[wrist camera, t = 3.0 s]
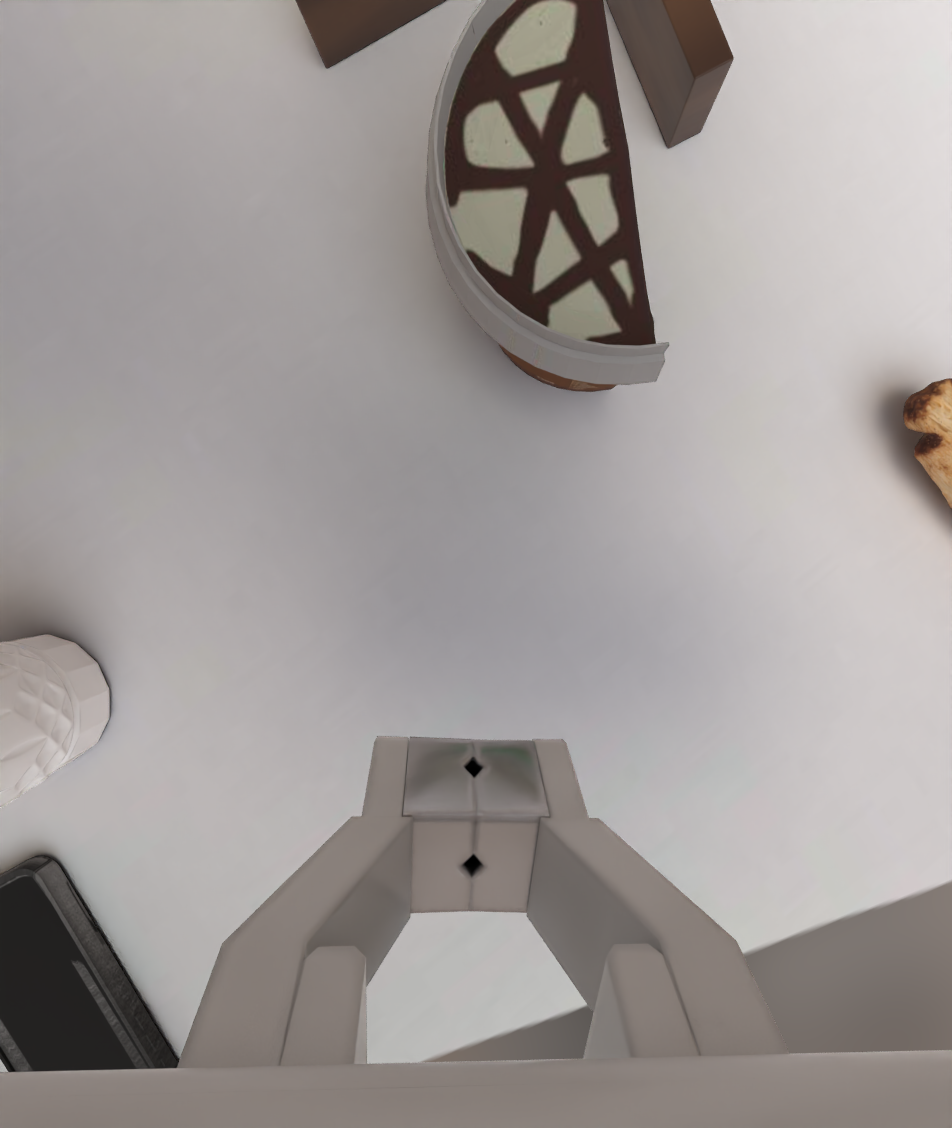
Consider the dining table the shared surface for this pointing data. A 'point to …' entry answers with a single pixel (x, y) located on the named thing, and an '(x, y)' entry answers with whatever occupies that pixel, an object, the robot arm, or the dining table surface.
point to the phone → (65, 984)
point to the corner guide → (645, 21)
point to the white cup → (46, 710)
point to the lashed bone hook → (933, 431)
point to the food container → (541, 195)
